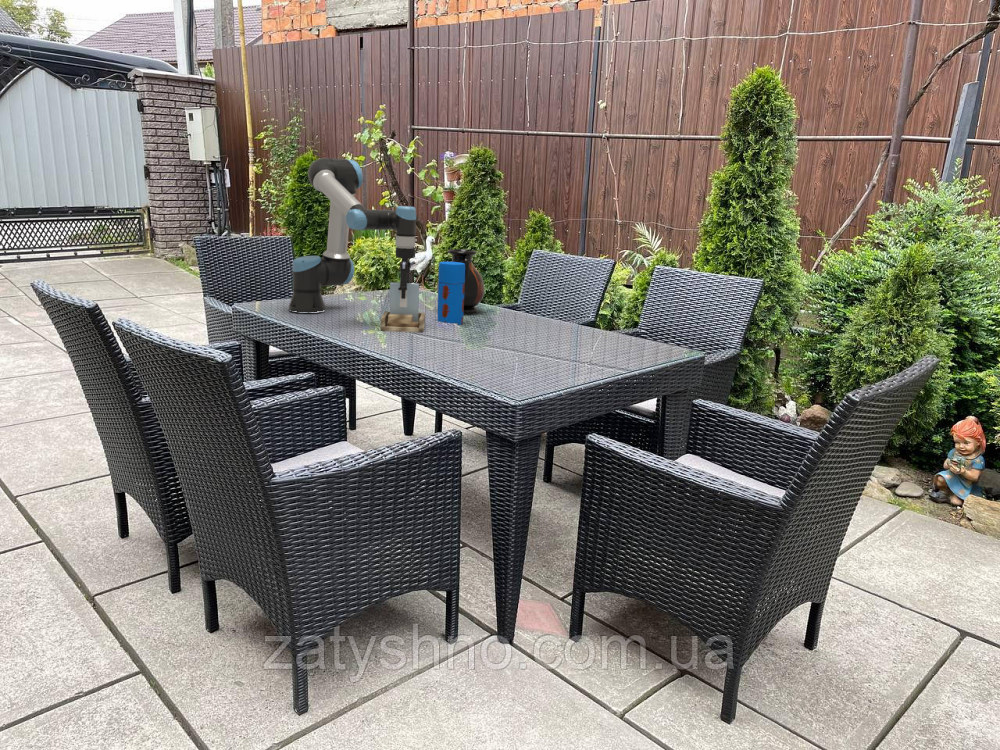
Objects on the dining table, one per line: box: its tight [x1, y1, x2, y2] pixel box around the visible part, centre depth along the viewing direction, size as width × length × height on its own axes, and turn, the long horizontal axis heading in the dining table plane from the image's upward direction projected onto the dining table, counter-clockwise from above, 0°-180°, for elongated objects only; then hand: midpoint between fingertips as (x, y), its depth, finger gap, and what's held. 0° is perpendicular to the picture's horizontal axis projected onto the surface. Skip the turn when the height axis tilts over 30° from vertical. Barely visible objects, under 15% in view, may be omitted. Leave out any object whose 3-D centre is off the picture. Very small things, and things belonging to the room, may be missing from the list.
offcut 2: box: [387, 321, 419, 328], centre depth 288 cm, size 12×5×3 cm, turn 93°
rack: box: [380, 310, 426, 333], centre depth 290 cm, size 16×15×6 cm
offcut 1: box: [388, 314, 413, 324], centre depth 287 cm, size 9×5×3 cm, turn 93°
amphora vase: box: [436, 248, 485, 315], centre depth 336 cm, size 22×22×28 cm
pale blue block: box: [389, 281, 420, 322], centre depth 292 cm, size 11×4×17 cm, turn 93°
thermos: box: [437, 261, 465, 326], centre depth 309 cm, size 11×11×25 cm
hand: (404, 304), depth 292 cm, fingers open, 10 cm apart
